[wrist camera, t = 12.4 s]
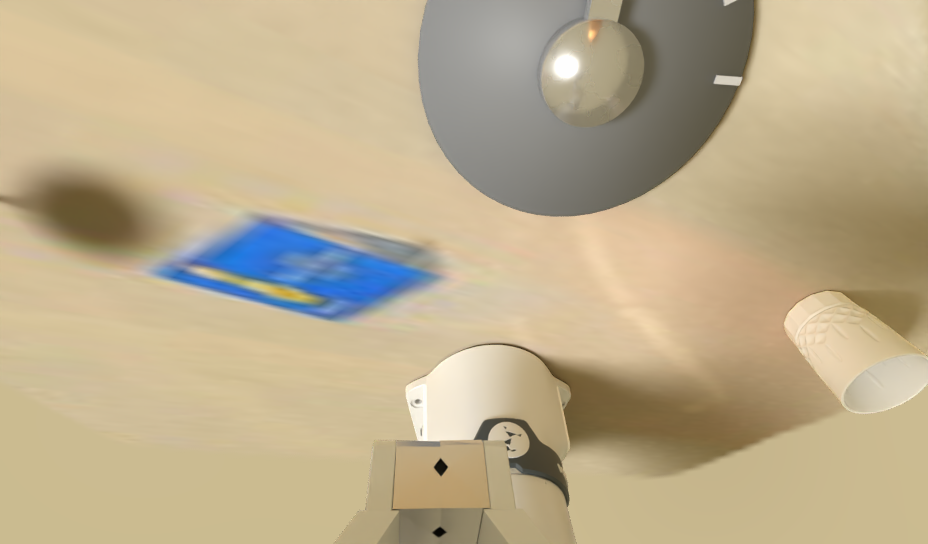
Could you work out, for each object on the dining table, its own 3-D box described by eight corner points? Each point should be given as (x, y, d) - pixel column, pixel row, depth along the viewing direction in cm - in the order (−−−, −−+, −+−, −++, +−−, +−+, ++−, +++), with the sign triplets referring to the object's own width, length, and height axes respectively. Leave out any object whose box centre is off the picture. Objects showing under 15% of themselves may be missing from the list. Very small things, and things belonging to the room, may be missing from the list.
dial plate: (680, 216, 44) (686, 223, 43) (414, 203, 42) (414, 211, 41) (805, -123, 31) (820, -125, 30) (424, -168, 28) (424, -173, 27)
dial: (619, 121, 37) (650, 151, 32) (530, 116, 37) (546, 145, 31) (678, -105, 30) (731, -115, 24) (566, -118, 29) (596, -130, 24)
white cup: (838, 338, 54) (911, 410, 46) (768, 345, 54) (829, 418, 46) (865, 281, 50) (952, 349, 42) (789, 289, 50) (861, 358, 42)
